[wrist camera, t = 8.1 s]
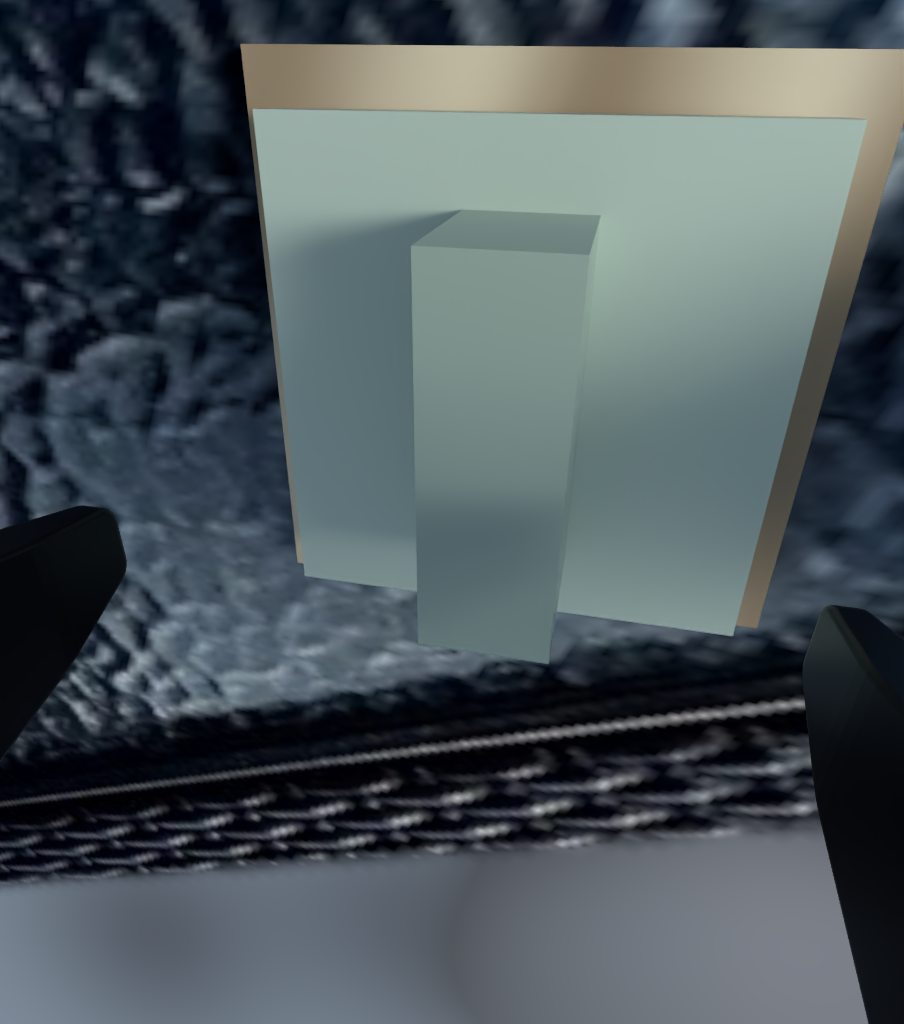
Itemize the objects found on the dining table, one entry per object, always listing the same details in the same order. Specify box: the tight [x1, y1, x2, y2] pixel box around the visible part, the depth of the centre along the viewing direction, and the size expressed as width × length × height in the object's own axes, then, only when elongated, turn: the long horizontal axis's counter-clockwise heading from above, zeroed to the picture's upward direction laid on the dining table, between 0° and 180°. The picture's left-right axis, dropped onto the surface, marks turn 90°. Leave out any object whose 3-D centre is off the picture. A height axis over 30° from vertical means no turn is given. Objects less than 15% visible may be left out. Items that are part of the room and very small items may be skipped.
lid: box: [252, 108, 868, 664], centre depth 14 cm, size 10×10×5 cm
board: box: [241, 44, 904, 628], centre depth 16 cm, size 12×12×1 cm
